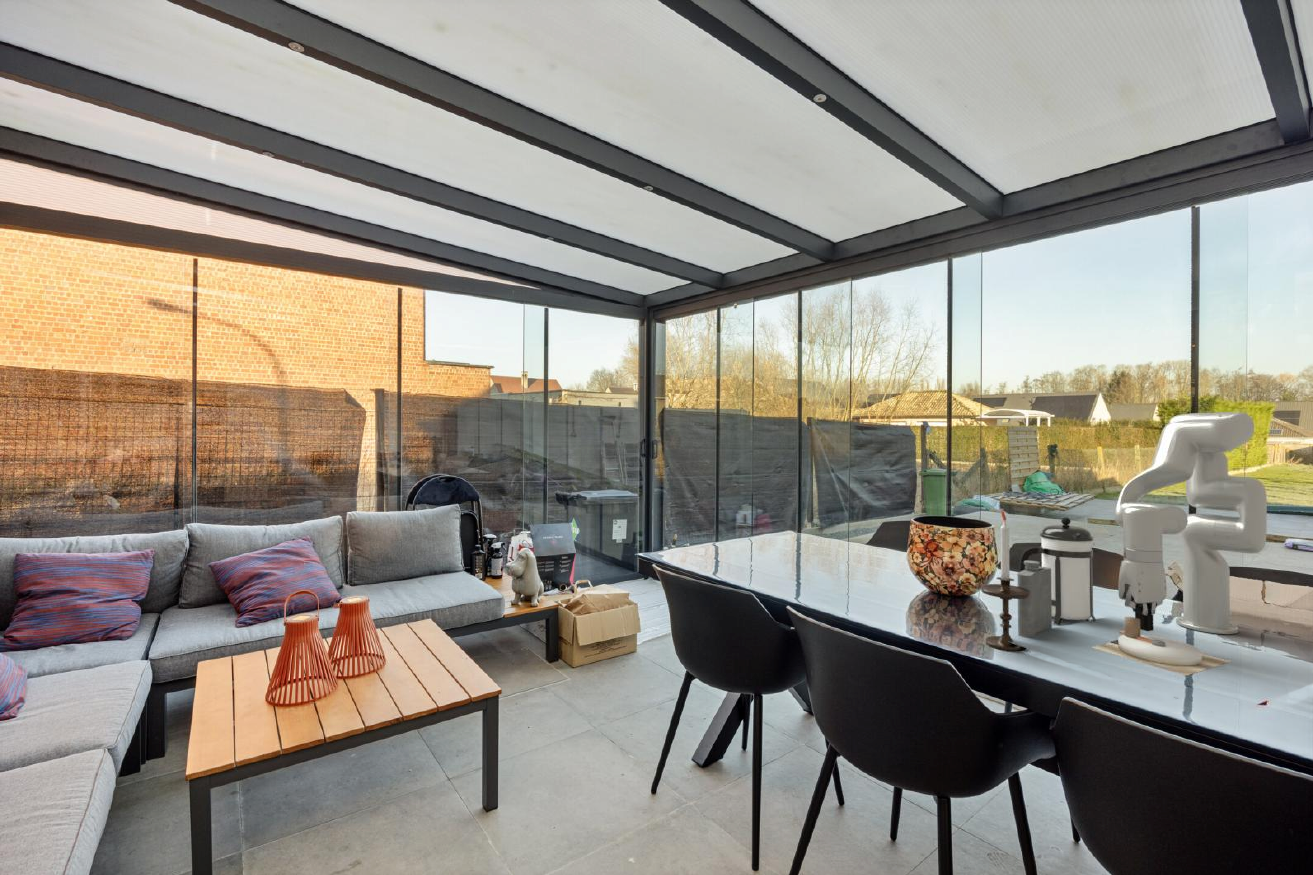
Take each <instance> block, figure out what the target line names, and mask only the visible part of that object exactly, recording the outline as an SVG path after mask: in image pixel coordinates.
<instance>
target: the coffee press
mask: <svg viewBox="0 0 1313 875" xmlns="http://www.w3.org/2000/svg"><path fill="white" fill-rule="evenodd" d="M1060 522H1061V523H1062V524H1060V525H1059V524H1055V525H1047V526H1045V527H1043V529H1042V531H1041V532H1039V537H1040V538H1041V539H1040V540H1041V545H1040V547H1036V546H1035V547H1034V546H1032V547H1028V548H1026V549H1025V550H1023V551H1022V553H1021V555H1020V557H1019V562H1018V573H1019V572H1021V571H1023V570H1026V569H1025V566H1026V565H1025V564H1024V561H1029V560H1028V559H1029V558H1030V557H1031V556H1032V555H1034V554H1035V555H1037V554H1041V567H1049V568H1051V601H1052V617H1054V619H1053V624H1054V625H1058V624H1059V626H1060V624H1061V625H1062V622H1063V620H1069V621H1086V622H1090V621H1091V620H1090V618H1092V620H1093V622H1097V621H1098V620H1097V618H1095V616H1094V598H1093V597H1094V591H1093V590H1094V588H1093V586H1094V585H1093V584H1094V582H1093V581H1094V580H1093V574H1094V573H1093V572H1094V571H1093V570H1094V569H1093V568H1094V567H1093V557H1094V550H1093V549H1092V548H1093V546H1097V543H1096V542H1095V540H1094V537H1093V535H1092V534H1091V532H1090V531H1089V530H1088V529H1086V528H1085V527H1084V528H1083V527H1080V526H1076V525H1075V526H1074V525H1070V524H1071V522H1072V521H1071V519H1070V518H1069V517H1062V518H1061V519H1060Z"/></svg>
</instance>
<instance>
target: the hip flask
mask: <svg viewBox="0 0 1313 875" xmlns="http://www.w3.org/2000/svg"><path fill="white" fill-rule="evenodd" d="M1024 564H1025V565H1026V566H1025V569H1026V570H1023V571H1021V572H1019V571H1018V573H1017V587H1021V588H1025V589H1027V590H1029V591H1030V597H1029V598H1026V599H1017V624H1018V625H1017V636H1018V637H1024V638H1033V636H1034V635H1036V634H1037V633H1039V632H1040V633H1041V632H1044V631H1048V630H1052V629H1053V627H1052V626H1053V625H1052V624H1053V623H1052V622H1053V621H1052V620H1053V619H1052V617H1053V616H1052V601H1051V568H1049V567H1042V566H1041V565H1040V564H1041V562H1040V561H1036V560H1027V561H1024Z"/></svg>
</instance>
